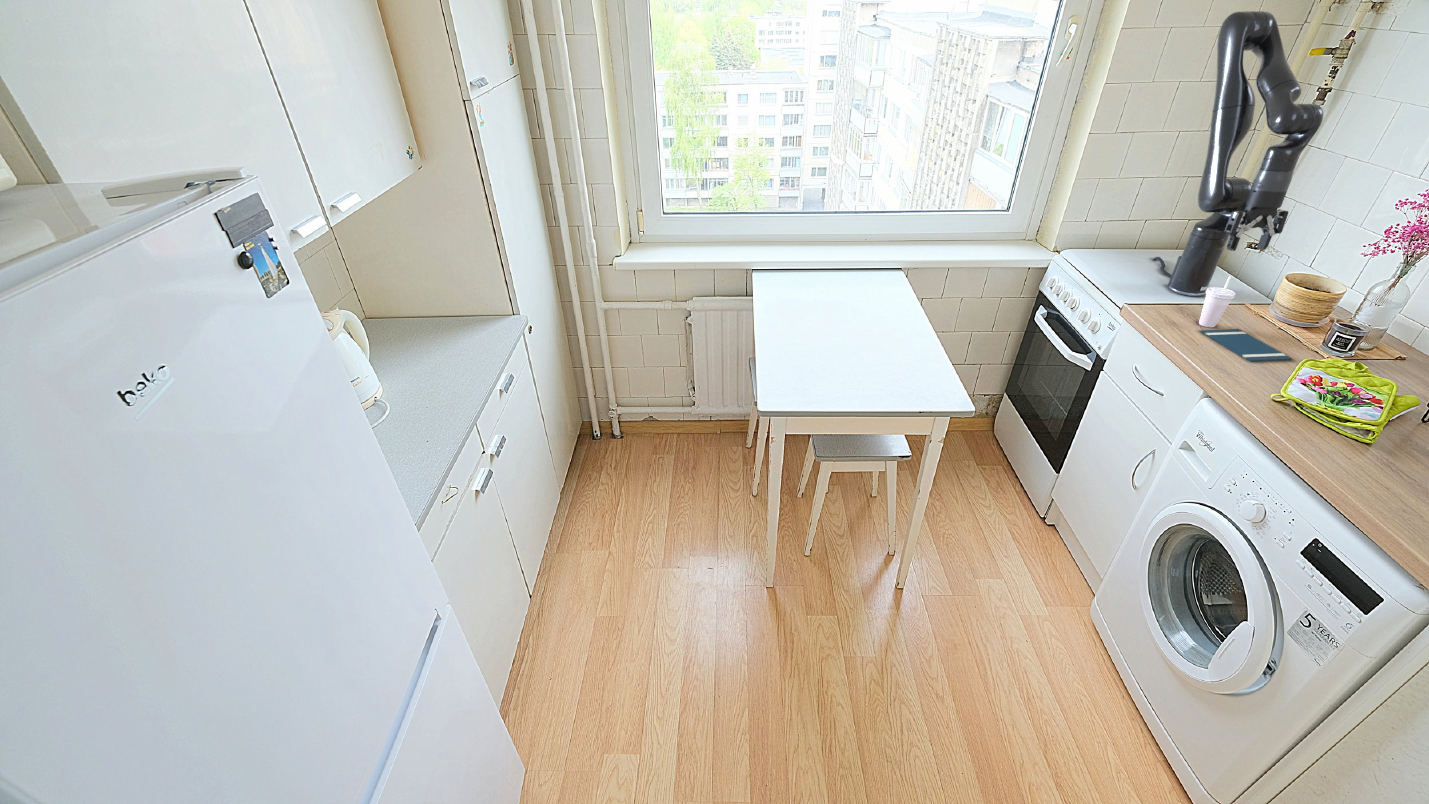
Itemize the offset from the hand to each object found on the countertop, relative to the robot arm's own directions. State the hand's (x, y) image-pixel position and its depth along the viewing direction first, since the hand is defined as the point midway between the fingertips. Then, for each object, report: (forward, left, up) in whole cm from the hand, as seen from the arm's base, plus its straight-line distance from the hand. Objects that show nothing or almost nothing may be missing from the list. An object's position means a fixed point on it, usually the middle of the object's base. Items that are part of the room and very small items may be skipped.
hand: (1245, 249), depth 174 cm
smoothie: (+10, -12, -18) cm, 23 cm away
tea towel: (+23, -11, -17) cm, 31 cm away
